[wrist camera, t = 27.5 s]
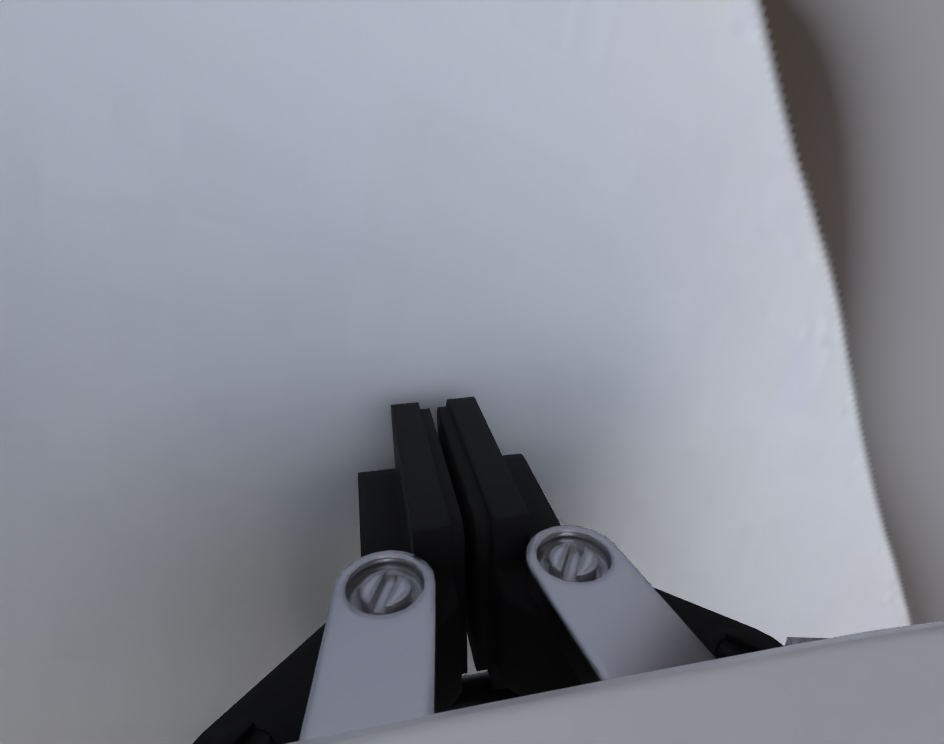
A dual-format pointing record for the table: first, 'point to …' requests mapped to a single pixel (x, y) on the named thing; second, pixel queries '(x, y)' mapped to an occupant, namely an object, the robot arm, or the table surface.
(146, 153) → the table surface
